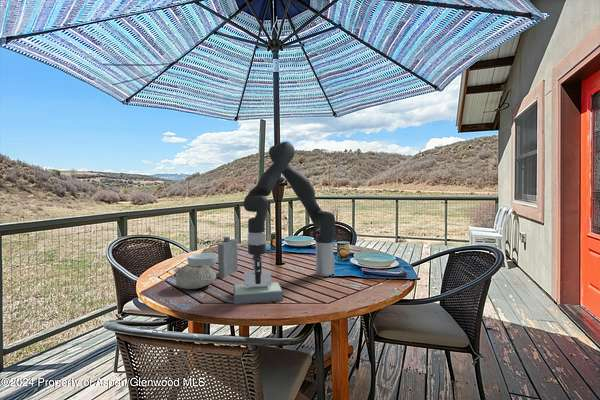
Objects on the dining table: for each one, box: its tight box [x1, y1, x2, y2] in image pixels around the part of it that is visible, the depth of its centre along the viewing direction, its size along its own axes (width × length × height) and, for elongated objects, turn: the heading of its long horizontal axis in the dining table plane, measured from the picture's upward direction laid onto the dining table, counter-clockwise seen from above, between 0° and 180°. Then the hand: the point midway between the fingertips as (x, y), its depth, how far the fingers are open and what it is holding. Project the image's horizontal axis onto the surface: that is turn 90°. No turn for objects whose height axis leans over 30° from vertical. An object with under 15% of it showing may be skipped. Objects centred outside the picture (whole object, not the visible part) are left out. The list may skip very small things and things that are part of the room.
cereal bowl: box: [187, 252, 218, 268], centre depth 190 cm, size 17×17×7 cm
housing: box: [243, 269, 272, 288], centre depth 141 cm, size 7×11×6 cm, turn 102°
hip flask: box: [217, 236, 239, 279], centre depth 176 cm, size 16×4×20 cm, turn 161°
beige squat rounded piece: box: [175, 265, 217, 290], centre depth 156 cm, size 18×18×10 cm
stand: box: [233, 281, 284, 305], centre depth 142 cm, size 20×13×4 cm, turn 102°
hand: (257, 281), depth 142 cm, fingers closed on housing, 5 cm apart
